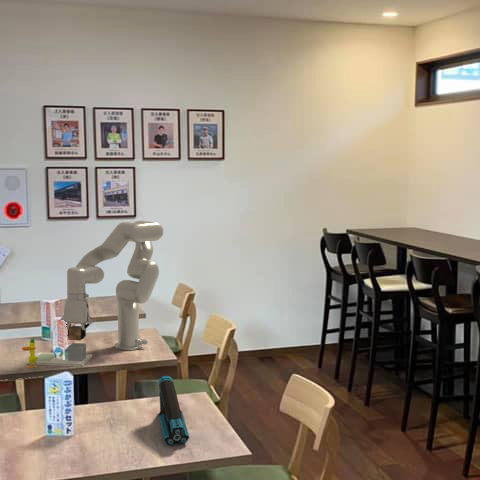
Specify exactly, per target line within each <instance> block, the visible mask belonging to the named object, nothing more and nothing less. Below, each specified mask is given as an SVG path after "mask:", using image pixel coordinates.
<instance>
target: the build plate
mask: <svg viewBox="0 0 480 480" xmlns="http://www.w3.org/2000/svg"><path fill="white" fill-rule="evenodd" d="M53 353H54V352H40V351H39V352H37V353H36V354H34V355H35V356H36V357H38V359H37V360H36V362H35V364H33V366H34V365H35V366H37V365H38V366H39V365H40V366H54V367H55V366H56V367H57V366H58V367H60V366H61V367H79V368H81V367H84V366H85V365H86V364H87V363H88V362H89V361H90V360H91V359H92V357H93V355H92V354H90V353H89V354H87V353H86V358H85V359H84V360H82V361H68V358H67V359H66V360H59V359H56V358H55V357H54V355H53ZM26 364H27V365H31V364H30V362H29V360H27V361H26Z"/></svg>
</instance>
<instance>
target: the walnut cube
mask: <svg viewBox="0 0 480 480" xmlns="http://www.w3.org/2000/svg"><path fill="white" fill-rule="evenodd" d="M81 330H82V327H81V325H71V327H70V328H69V339H68V341H78V342H79V341H80V342H81V341H82V340H83V339H81Z"/></svg>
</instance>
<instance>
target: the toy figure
mask: <svg viewBox="0 0 480 480" xmlns="http://www.w3.org/2000/svg"><path fill="white" fill-rule="evenodd" d="M36 349H37V347H36V342H35V339H34V338H31V339H30V341H29V346H23V347H21V350H22V351H25V352H26V351H29V353H30V355H29V356H28V361H29V362H30V364H29V365H28V368H29V369H33V368H35V366H34V365H33V364H35V362H36V360H37V359H38V357H36V356H35V355H36V354H35V353H36V351H35V350H36Z"/></svg>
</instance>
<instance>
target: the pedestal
mask: <svg viewBox="0 0 480 480" xmlns="http://www.w3.org/2000/svg"><path fill="white" fill-rule="evenodd" d="M67 354H68V361H82V360H84V359H85V358H86V354H87V343H83V342H80V343H79V342H72V343H71V344H69V346H67Z"/></svg>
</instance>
